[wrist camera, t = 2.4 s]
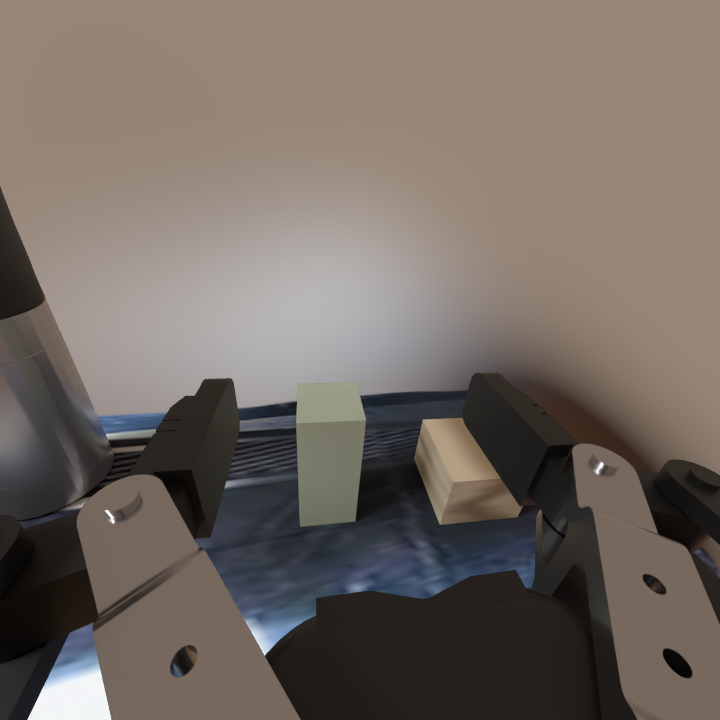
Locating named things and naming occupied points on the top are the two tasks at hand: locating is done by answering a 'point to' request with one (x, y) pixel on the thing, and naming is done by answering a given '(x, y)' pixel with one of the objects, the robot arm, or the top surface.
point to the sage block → (329, 452)
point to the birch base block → (460, 475)
